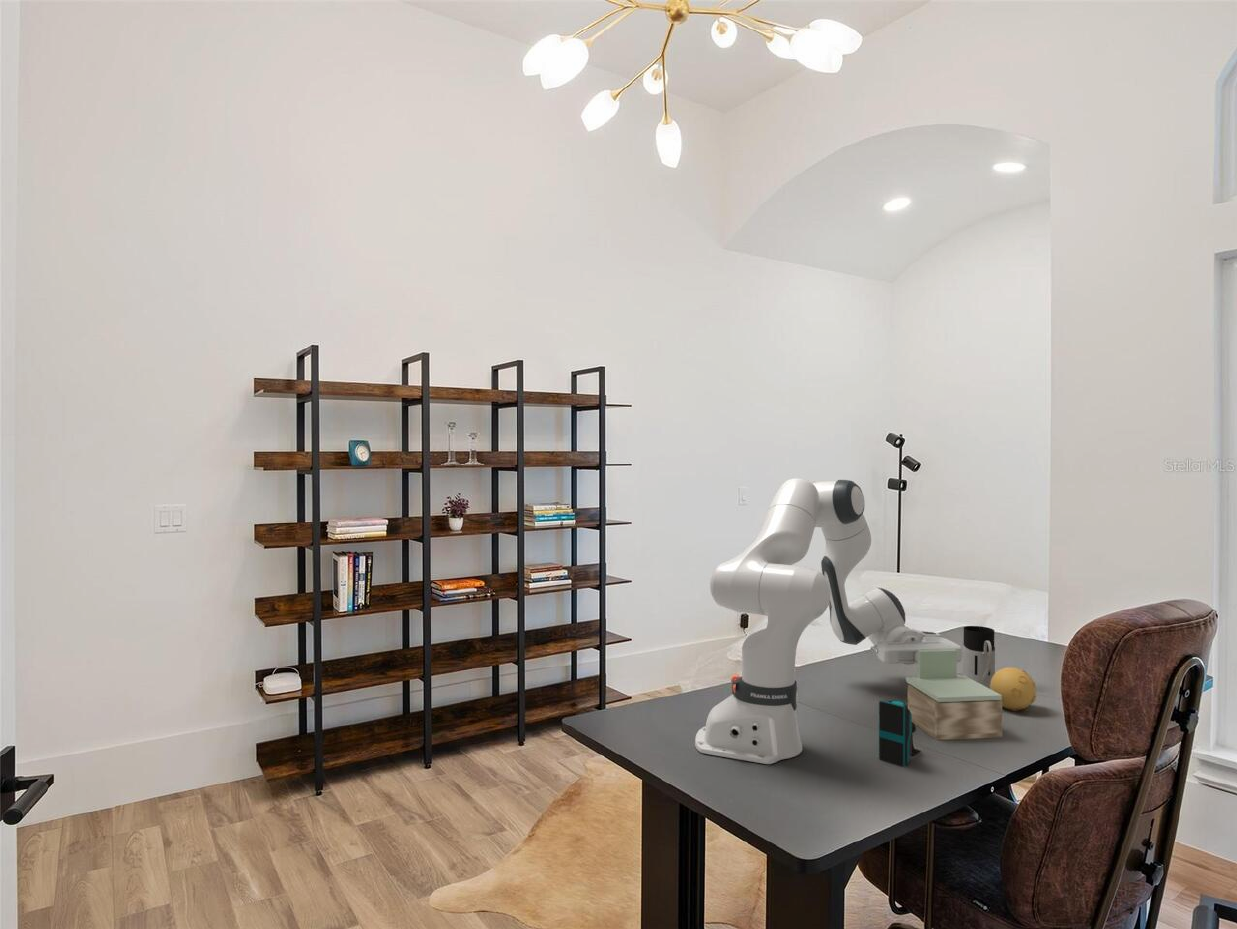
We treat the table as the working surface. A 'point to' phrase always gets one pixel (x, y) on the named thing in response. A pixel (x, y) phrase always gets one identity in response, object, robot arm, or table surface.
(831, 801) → the table surface
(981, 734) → the wooden box
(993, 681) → the stress ball
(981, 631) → the glass holder
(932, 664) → the lid
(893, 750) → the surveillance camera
